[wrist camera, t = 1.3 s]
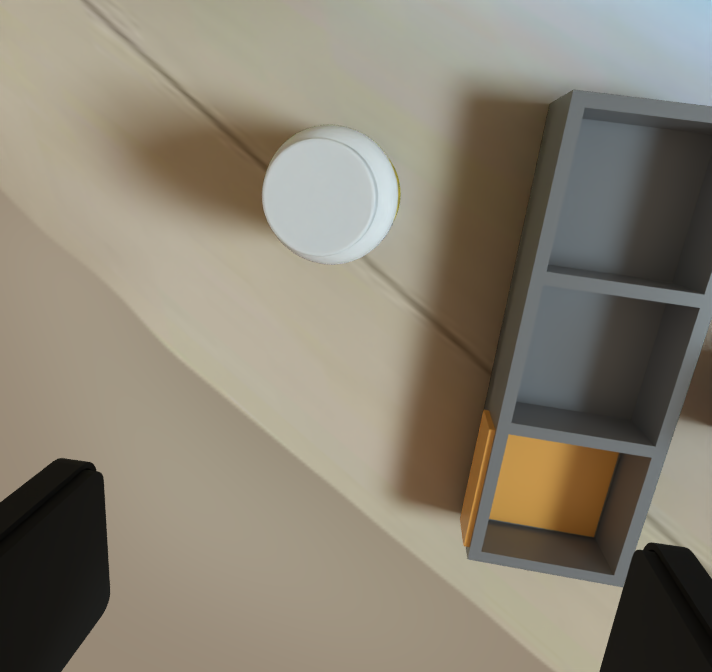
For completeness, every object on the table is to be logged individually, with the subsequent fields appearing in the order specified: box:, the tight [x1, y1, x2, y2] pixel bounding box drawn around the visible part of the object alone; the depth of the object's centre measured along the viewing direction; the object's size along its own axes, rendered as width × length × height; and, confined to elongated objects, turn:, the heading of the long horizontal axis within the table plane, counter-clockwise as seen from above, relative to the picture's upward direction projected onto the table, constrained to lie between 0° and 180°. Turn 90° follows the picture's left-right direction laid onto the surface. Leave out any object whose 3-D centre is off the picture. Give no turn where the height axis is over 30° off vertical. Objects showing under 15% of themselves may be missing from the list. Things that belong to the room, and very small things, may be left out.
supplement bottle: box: [262, 125, 400, 265], centre depth 23 cm, size 5×5×10 cm
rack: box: [460, 90, 712, 587], centre depth 27 cm, size 23×8×4 cm, turn 172°
